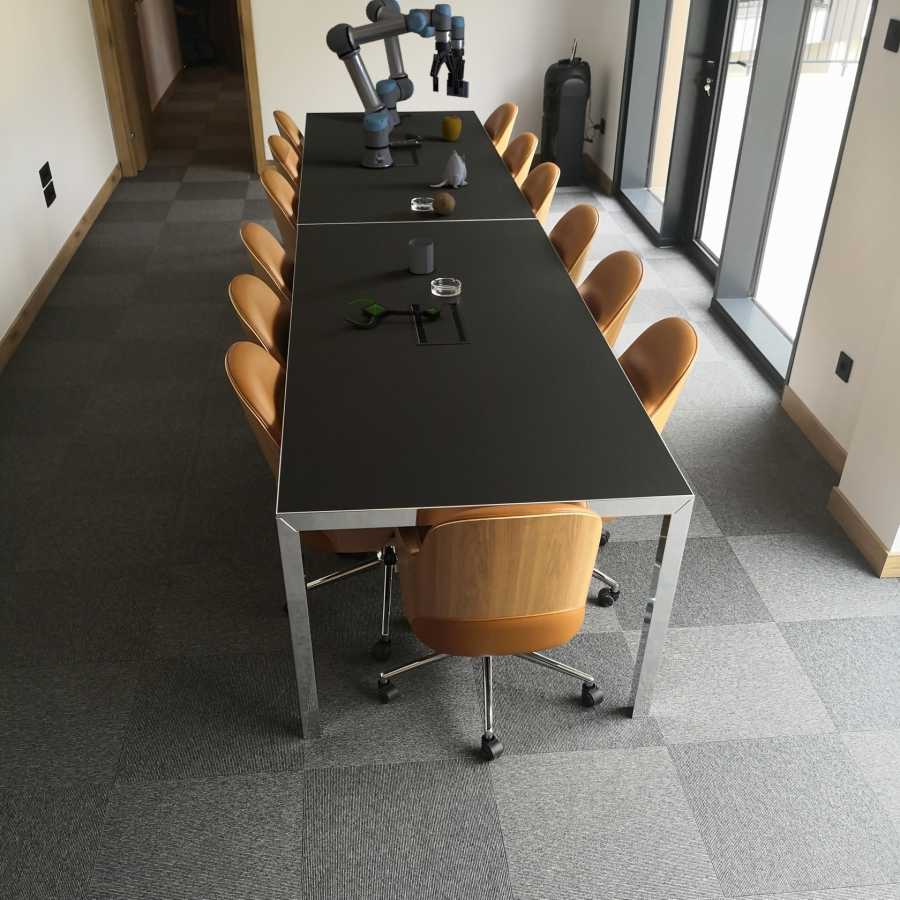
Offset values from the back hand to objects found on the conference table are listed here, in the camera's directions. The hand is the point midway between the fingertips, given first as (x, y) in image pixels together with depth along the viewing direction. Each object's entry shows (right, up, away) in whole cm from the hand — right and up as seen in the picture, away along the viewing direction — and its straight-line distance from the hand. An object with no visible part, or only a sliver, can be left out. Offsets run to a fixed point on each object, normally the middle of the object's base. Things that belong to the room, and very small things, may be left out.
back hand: (457, 93), depth 485 cm
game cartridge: (0, -1, +1) cm, 2 cm away
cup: (-14, -136, -177) cm, 224 cm away
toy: (-5, -81, -91) cm, 122 cm away
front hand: (-7, -26, -67) cm, 72 cm away
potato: (-7, -101, -123) cm, 159 cm away
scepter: (-22, -159, -214) cm, 267 cm away
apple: (-3, -32, -15) cm, 35 cm away
